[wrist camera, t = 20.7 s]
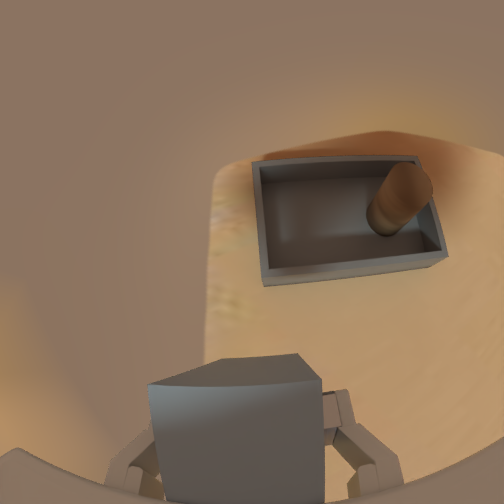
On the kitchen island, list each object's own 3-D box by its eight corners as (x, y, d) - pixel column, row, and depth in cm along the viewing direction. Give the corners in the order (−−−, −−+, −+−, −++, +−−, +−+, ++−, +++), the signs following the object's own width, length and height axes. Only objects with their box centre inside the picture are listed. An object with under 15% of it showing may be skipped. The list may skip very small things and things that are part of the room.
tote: (404, 175, 35) (417, 155, 30) (429, 267, 31) (448, 256, 26) (255, 183, 36) (251, 162, 32) (264, 286, 32) (261, 278, 28)
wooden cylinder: (397, 200, 33) (425, 164, 24) (404, 236, 31) (437, 207, 23) (363, 199, 33) (385, 160, 25) (368, 236, 32) (395, 205, 23)
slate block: (297, 353, 16) (321, 379, 6) (302, 423, 14) (324, 516, 5) (221, 358, 16) (147, 384, 7) (227, 427, 15) (170, 513, 5)
